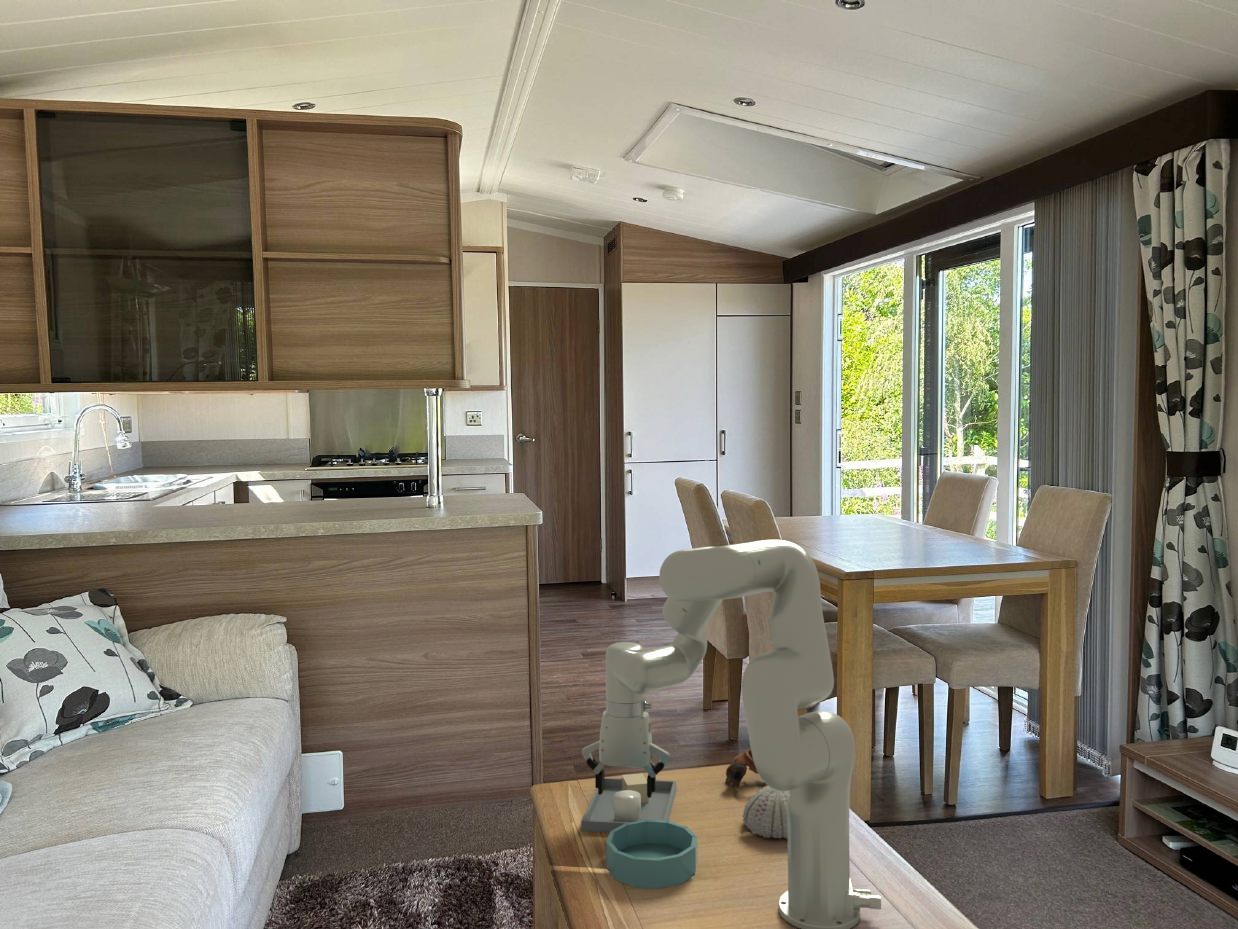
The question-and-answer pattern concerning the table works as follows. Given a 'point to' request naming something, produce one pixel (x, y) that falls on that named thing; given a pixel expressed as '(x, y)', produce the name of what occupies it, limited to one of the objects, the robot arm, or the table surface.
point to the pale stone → (627, 806)
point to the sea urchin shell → (767, 813)
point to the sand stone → (636, 785)
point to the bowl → (651, 854)
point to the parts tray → (602, 806)
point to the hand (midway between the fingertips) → (625, 793)
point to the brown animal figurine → (740, 768)
